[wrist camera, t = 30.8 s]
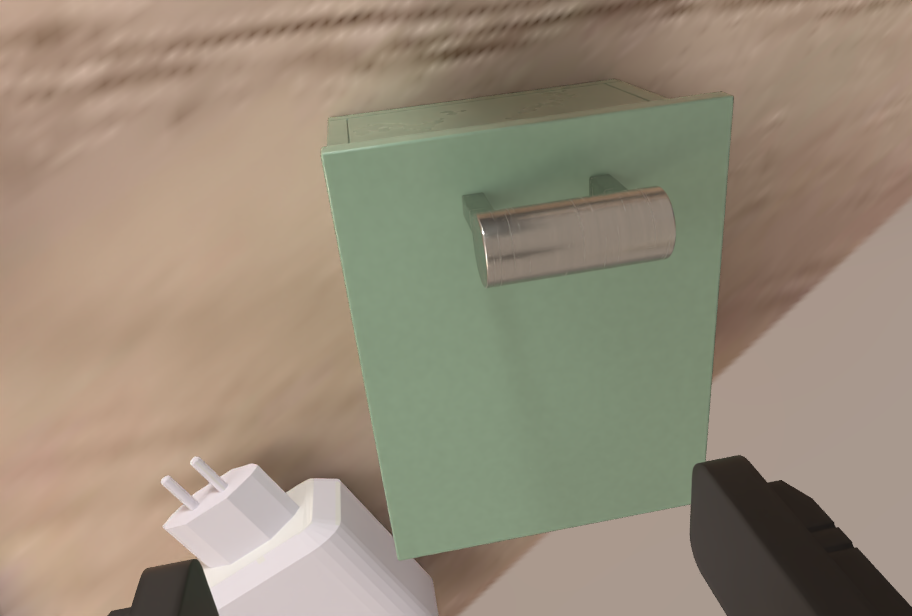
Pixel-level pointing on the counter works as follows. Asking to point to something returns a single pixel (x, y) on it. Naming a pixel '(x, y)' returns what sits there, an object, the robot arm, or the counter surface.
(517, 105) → the bin
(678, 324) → the lid
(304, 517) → the charger
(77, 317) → the counter surface
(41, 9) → the counter surface
